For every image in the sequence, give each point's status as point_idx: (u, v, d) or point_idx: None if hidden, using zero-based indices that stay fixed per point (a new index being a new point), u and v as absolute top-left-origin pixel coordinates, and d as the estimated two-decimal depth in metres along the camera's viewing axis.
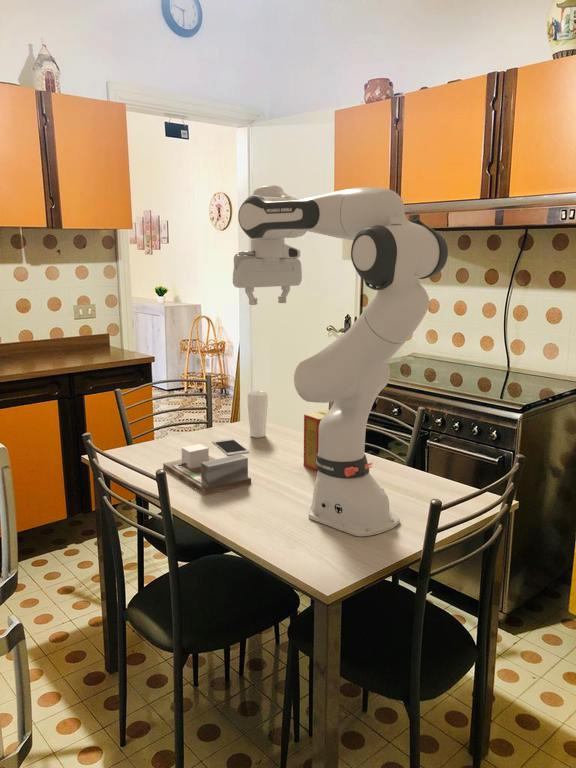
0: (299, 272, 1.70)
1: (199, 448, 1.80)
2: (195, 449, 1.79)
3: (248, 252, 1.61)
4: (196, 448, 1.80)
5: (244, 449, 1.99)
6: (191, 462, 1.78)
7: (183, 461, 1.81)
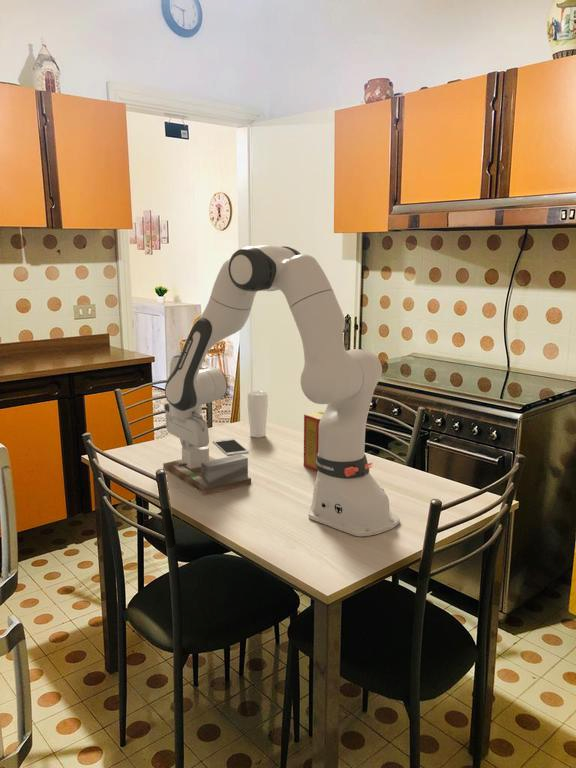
0: None
1: (200, 448, 1.80)
2: (195, 449, 1.79)
3: (198, 414, 1.77)
4: (196, 448, 1.80)
5: (244, 449, 1.99)
6: (191, 462, 1.78)
7: (183, 461, 1.81)
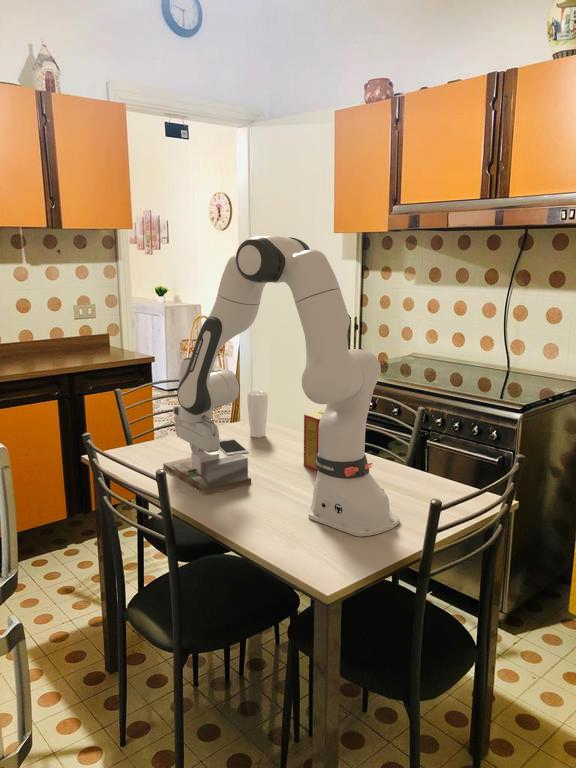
0: None
1: (210, 453, 1.75)
2: (205, 455, 1.74)
3: (208, 418, 1.73)
4: (206, 454, 1.75)
5: (243, 449, 1.99)
6: None
7: (193, 467, 1.76)
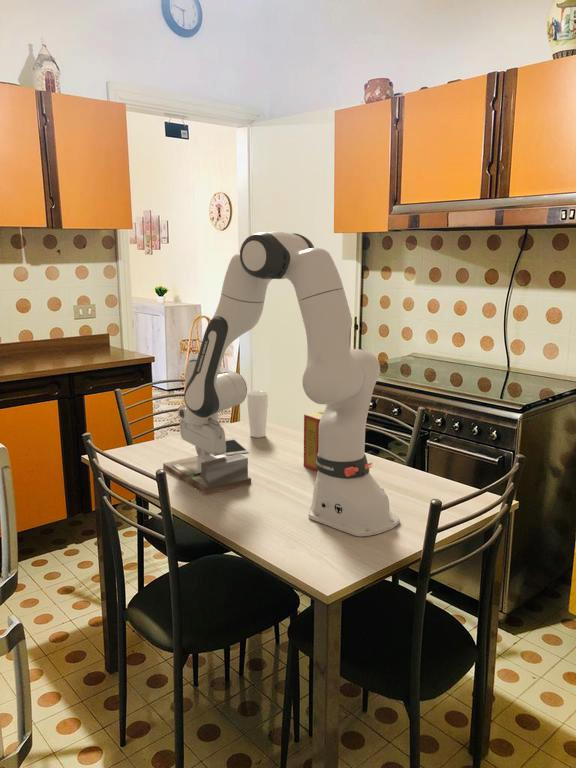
0: None
1: (216, 456, 1.73)
2: (212, 458, 1.72)
3: (214, 420, 1.70)
4: (212, 457, 1.72)
5: (243, 449, 1.99)
6: None
7: (199, 470, 1.73)
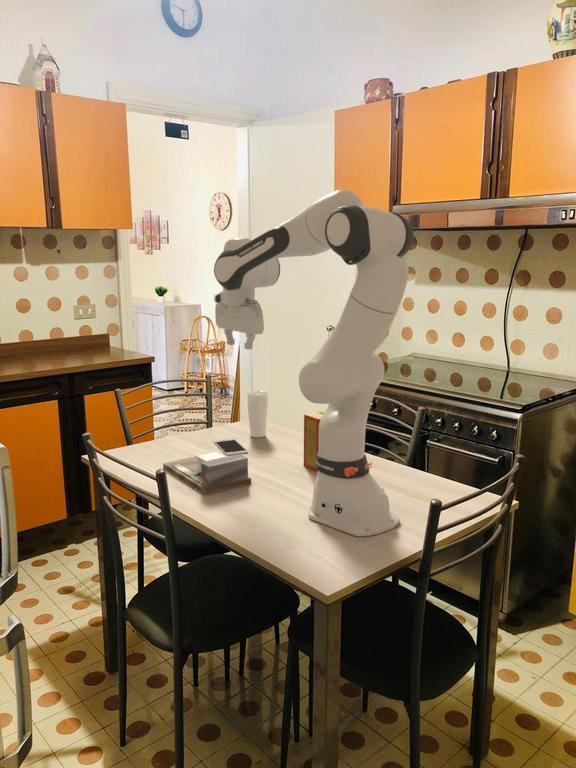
0: None
1: (216, 456, 1.73)
2: (212, 458, 1.72)
3: None
4: (212, 457, 1.72)
5: (243, 449, 1.99)
6: None
7: (199, 470, 1.73)
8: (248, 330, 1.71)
